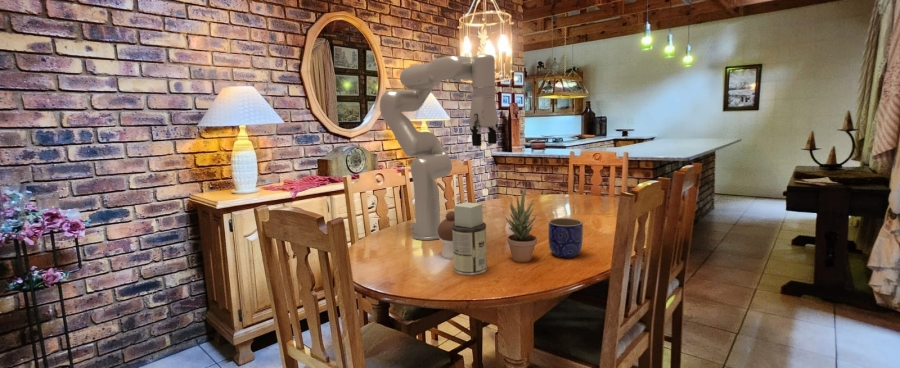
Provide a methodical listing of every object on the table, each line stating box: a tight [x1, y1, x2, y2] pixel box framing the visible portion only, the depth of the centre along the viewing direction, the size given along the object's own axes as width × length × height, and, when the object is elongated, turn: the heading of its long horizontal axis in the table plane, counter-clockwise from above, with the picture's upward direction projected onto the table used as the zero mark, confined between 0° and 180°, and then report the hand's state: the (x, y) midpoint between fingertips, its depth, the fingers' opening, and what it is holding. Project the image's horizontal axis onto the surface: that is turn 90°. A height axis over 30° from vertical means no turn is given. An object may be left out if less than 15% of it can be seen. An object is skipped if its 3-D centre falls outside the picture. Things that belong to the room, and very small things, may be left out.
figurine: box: [438, 210, 455, 260], centre depth 152 cm, size 10×9×15 cm
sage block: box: [454, 201, 484, 228], centre depth 136 cm, size 6×6×6 cm
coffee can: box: [452, 221, 488, 276], centre depth 137 cm, size 10×10×14 cm
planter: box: [547, 217, 584, 259], centre depth 149 cm, size 11×11×11 cm
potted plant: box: [505, 183, 538, 263], centre depth 145 cm, size 10×10×25 cm
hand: (484, 144), depth 154 cm, fingers open, 9 cm apart
